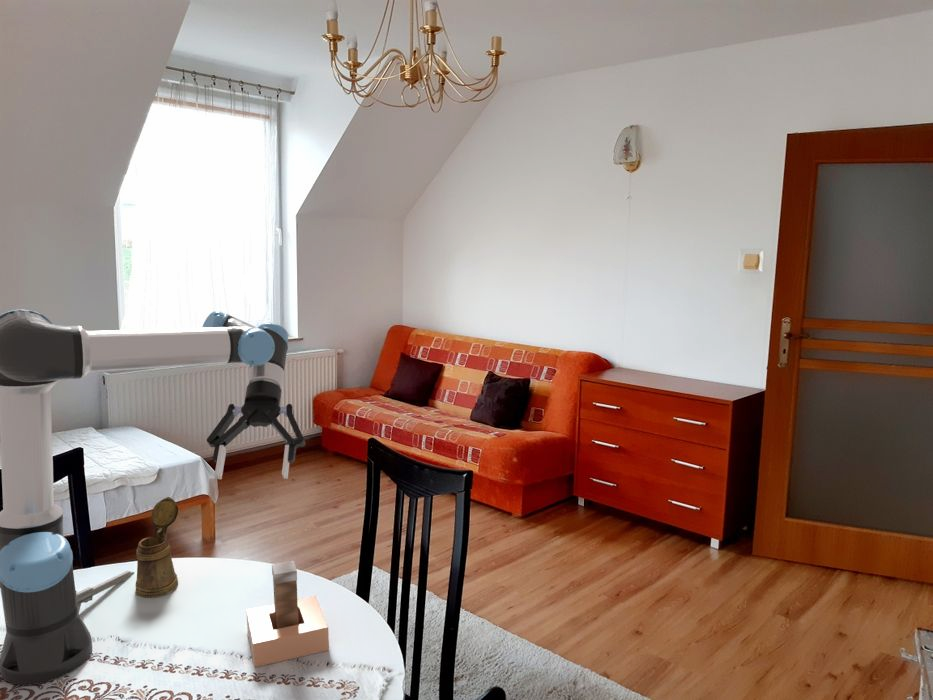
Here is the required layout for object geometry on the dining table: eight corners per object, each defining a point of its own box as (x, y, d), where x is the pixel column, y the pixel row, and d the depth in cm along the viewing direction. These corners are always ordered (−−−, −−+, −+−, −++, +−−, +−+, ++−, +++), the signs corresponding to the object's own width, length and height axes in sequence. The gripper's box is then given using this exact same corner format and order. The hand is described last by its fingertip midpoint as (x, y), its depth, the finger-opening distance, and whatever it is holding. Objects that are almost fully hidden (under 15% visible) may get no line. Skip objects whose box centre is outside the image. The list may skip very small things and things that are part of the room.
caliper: (70, 623, 147) (67, 596, 146) (65, 623, 147) (62, 595, 146) (134, 574, 166) (132, 549, 165) (130, 573, 167) (128, 548, 165)
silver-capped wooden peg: (278, 649, 139) (274, 574, 136) (275, 637, 143) (271, 564, 140) (299, 644, 141) (296, 570, 137) (296, 632, 144) (293, 560, 141)
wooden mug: (193, 567, 169) (188, 496, 165) (167, 598, 156) (160, 522, 152) (156, 566, 170) (150, 495, 166) (127, 597, 156) (120, 521, 153)
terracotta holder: (254, 667, 134) (253, 643, 133) (247, 631, 144) (246, 609, 143) (328, 650, 139) (328, 627, 138) (316, 617, 150) (316, 595, 149)
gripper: (323, 395, 163) (314, 482, 151) (212, 395, 161) (195, 483, 150) (318, 378, 156) (309, 468, 145) (203, 378, 155) (184, 469, 144)
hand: (251, 476), depth 147 cm, fingers open, 13 cm apart
